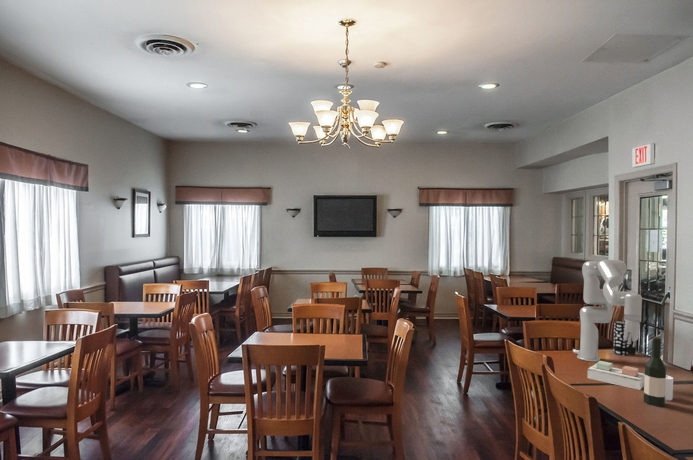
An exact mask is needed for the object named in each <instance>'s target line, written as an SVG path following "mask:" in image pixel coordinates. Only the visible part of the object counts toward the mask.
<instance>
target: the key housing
mask: <svg viewBox="0 0 693 460" xmlns="http://www.w3.org/2000/svg"><path fill="white" fill-rule="evenodd" d="M596 365H597V363H595V364H593V365H592V366H589V367H588V368H587V376H586V377H587V379H589V380H593V381H599V382H603V383H607V384H613V385H616V386H619V387H620V386H621V387H625V388H630V389H633V390H638V391H641V390H642V389H644V380H645V372H639V371H638V375H637V376H636V377H634V376H630V375H625V374H622V368H620V367H616V366H615V367H613V366H612V369H611V370H610V371H606V370H601V369H596Z"/></svg>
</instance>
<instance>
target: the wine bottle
mask: <svg viewBox="0 0 693 460" xmlns="http://www.w3.org/2000/svg"><path fill="white" fill-rule="evenodd" d="M651 340H652V341H651V342H652V343H651V357H650V359H648V361H647V362H646V363H645V365H644V374H645V380H644V387H643V403H645V404H647V405H650V406H655V407H665V406H666V405H665V404H666V400H665V389H666V375H667V366H666V365H665V363H664V361H663V360H662V358H661V354H662V353H661V352H662V351H661V350H662V349H661V348H662V339H661V337H660V336H657V335H656V336H655V335H654V336H653V337H652V339H651Z"/></svg>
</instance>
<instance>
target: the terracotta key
mask: <svg viewBox="0 0 693 460" xmlns="http://www.w3.org/2000/svg"><path fill="white" fill-rule="evenodd" d="M621 369H622V374H625V375H630V376H634V377H636V376H637V375H638V372H639V368H637V367H633V366H628V365H624V366H623V367H621Z"/></svg>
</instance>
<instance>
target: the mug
mask: <svg viewBox="0 0 693 460" xmlns="http://www.w3.org/2000/svg"><path fill="white" fill-rule="evenodd" d="M673 398H674V377H673V376H670V375H667V374H666V389H665V401H673Z"/></svg>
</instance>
